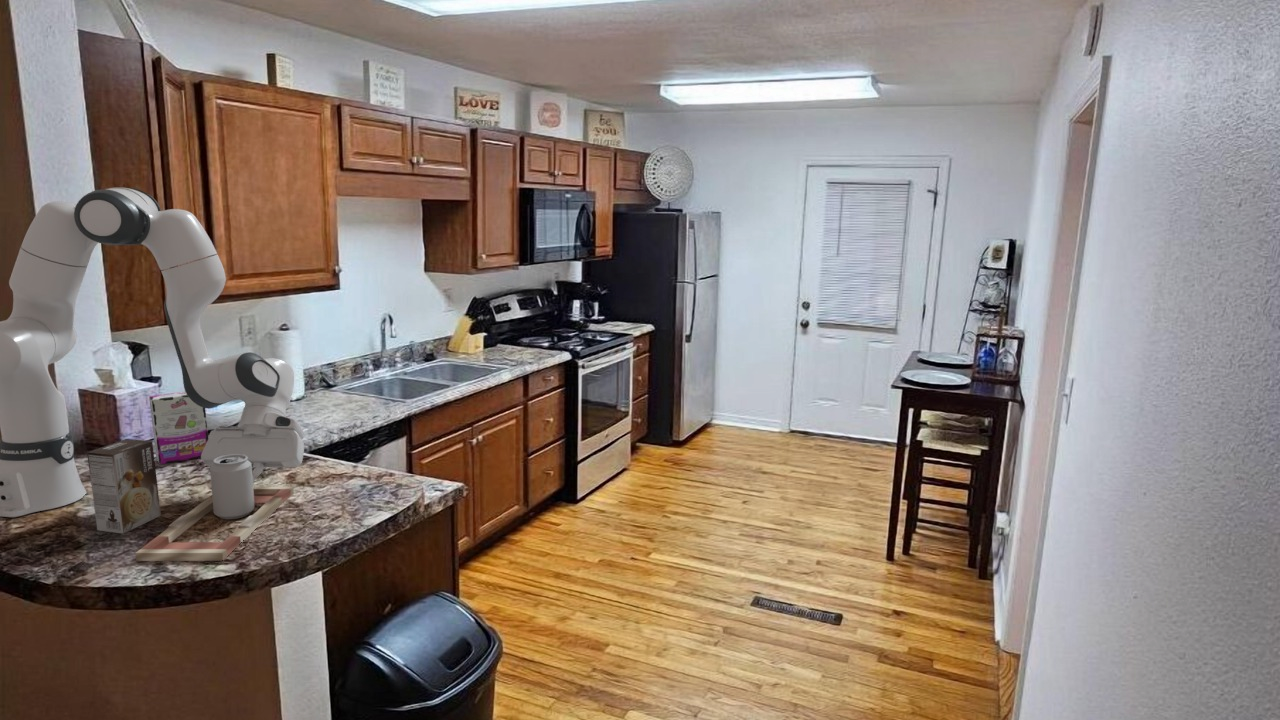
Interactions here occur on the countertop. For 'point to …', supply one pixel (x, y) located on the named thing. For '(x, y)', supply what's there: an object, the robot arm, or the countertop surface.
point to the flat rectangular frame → (211, 551)
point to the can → (232, 486)
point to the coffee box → (124, 485)
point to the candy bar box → (177, 427)
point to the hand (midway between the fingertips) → (244, 484)
